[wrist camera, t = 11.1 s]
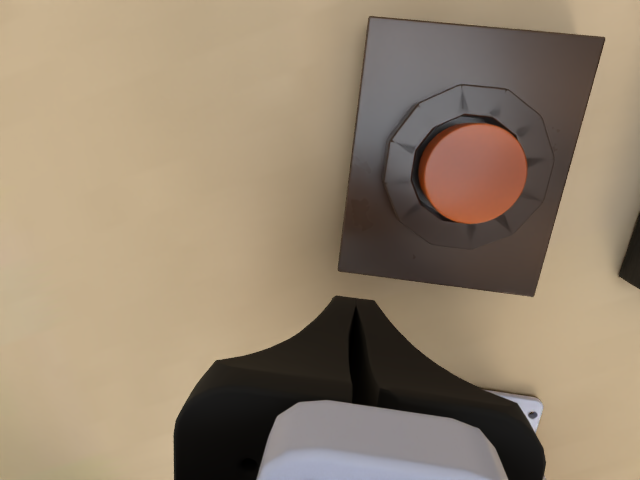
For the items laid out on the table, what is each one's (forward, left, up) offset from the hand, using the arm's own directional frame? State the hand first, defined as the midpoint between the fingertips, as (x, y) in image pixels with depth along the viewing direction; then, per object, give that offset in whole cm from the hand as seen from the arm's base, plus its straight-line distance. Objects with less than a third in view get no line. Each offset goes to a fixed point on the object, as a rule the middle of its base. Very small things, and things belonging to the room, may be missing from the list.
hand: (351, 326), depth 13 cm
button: (+5, -4, -7) cm, 9 cm away
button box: (+5, -4, -10) cm, 12 cm away
